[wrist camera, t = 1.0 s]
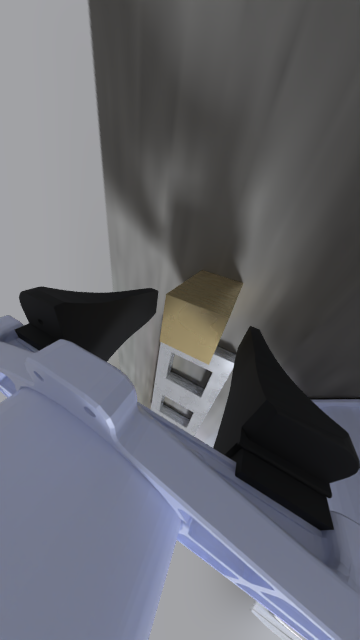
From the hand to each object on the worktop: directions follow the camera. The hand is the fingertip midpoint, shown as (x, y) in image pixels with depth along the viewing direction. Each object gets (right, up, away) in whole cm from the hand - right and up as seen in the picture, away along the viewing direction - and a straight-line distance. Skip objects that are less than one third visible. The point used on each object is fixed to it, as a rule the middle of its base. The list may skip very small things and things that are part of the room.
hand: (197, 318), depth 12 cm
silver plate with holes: (-1, -11, +13) cm, 17 cm away
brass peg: (+2, +2, +4) cm, 5 cm away
